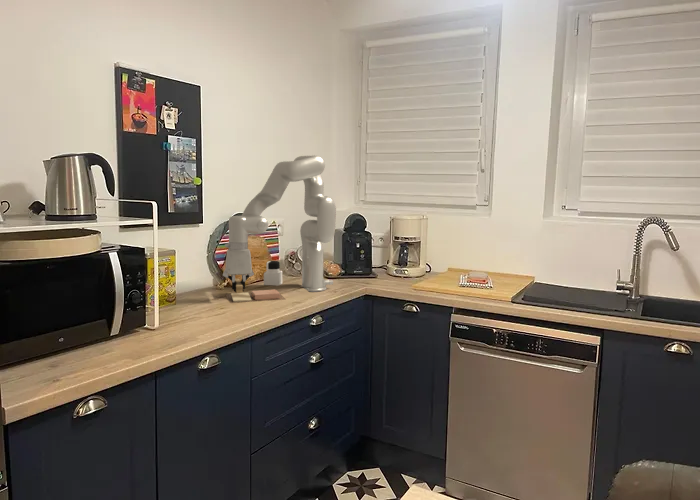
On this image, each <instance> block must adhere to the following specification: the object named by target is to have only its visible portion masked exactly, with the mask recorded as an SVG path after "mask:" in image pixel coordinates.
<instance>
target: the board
mask: <svg viewBox="0 0 700 500" xmlns="http://www.w3.org/2000/svg"><path fill="white" fill-rule="evenodd" d="M248 293H249V295H250V297H251V299H252V301H245V302H244V303H251V302H252V303H253V302H265V301H267V302H268V301H282V300H286V298H285V297H284V296H283V295H281V293H280V298H278V299H263V300H255V299H254V298H253V297H252V292H248ZM224 295H225V296H226V298H227V300H228V302H229V303H230V304H235V303H236V304H238V303H240V302H233V299H232V297H231V293H225V294H224Z"/></svg>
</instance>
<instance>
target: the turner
mask: <svg viewBox="0 0 700 500" xmlns="http://www.w3.org/2000/svg"><path fill="white" fill-rule="evenodd" d="M235 281H236V292H231V293H230V294H231V297H232V299H233V302H239V303H246V302H245V301H252V299H251V297H250V295H249V293H250V292H244V291H243V285H242V284H241V279H240V278H235Z"/></svg>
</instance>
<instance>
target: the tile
mask: <svg viewBox="0 0 700 500" xmlns="http://www.w3.org/2000/svg"><path fill="white" fill-rule="evenodd" d="M251 293H252V297H253V298H254V299H255V300H263V299H278V298H280V294H281V293H280V292H279V291H278V290H277V289H260V290H259V289H258V290H251Z"/></svg>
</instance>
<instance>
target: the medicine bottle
mask: <svg viewBox="0 0 700 500" xmlns="http://www.w3.org/2000/svg"><path fill="white" fill-rule="evenodd" d="M280 268H281V263H280V261H278V260H269V261H267V262H266V268H265V269H266V271H264V273H263V286H277V287H279V286H280V285H282V284H283V270H280Z"/></svg>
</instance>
